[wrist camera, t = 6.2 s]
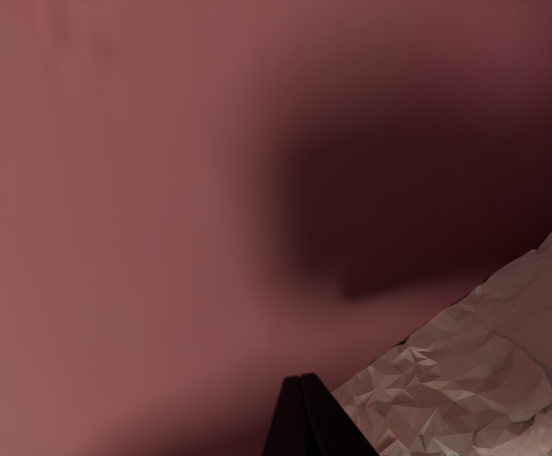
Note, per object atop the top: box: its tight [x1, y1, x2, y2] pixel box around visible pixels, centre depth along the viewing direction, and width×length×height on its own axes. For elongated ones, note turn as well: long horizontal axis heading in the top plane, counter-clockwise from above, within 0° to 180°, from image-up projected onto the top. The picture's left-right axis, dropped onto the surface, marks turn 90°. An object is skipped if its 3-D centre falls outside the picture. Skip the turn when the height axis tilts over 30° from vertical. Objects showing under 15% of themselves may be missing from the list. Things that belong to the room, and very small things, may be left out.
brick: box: [331, 232, 552, 456], centre depth 9 cm, size 16×8×5 cm, turn 132°
